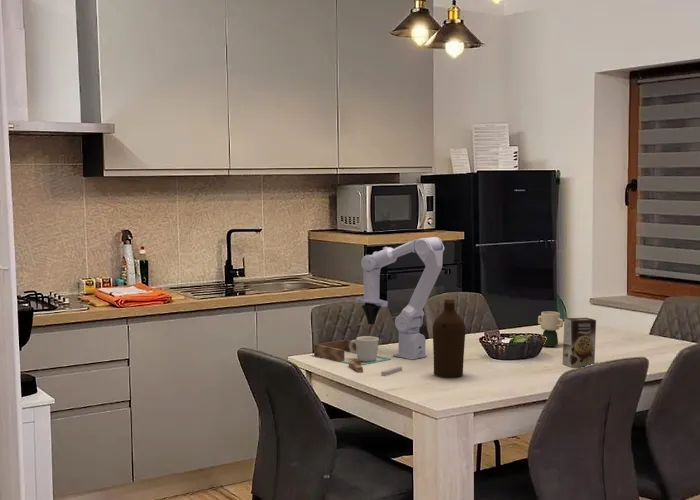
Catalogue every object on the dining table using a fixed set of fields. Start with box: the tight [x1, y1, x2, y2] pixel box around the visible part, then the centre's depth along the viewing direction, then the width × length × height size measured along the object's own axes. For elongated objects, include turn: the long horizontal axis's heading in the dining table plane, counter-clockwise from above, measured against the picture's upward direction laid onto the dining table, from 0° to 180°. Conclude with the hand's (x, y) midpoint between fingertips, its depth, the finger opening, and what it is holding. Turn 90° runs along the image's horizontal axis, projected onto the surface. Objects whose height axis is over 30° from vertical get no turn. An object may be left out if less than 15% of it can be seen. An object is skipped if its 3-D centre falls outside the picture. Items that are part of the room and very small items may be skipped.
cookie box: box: [562, 317, 597, 368], centre depth 306 cm, size 9×6×16 cm
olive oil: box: [432, 297, 467, 379], centre depth 290 cm, size 11×11×25 cm
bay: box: [339, 355, 392, 366], centre depth 312 cm, size 9×16×1 cm, turn 133°
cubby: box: [313, 339, 356, 362], centre depth 320 cm, size 15×15×4 cm
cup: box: [349, 335, 380, 363], centre depth 312 cm, size 11×8×8 cm
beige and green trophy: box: [537, 310, 564, 348], centre depth 340 cm, size 11×7×13 cm, turn 44°
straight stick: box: [380, 366, 403, 377], centre depth 293 cm, size 10×2×2 cm, turn 144°
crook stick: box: [347, 358, 364, 374], centre depth 299 cm, size 11×4×2 cm, turn 19°
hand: (371, 324), depth 329 cm, fingers closed
